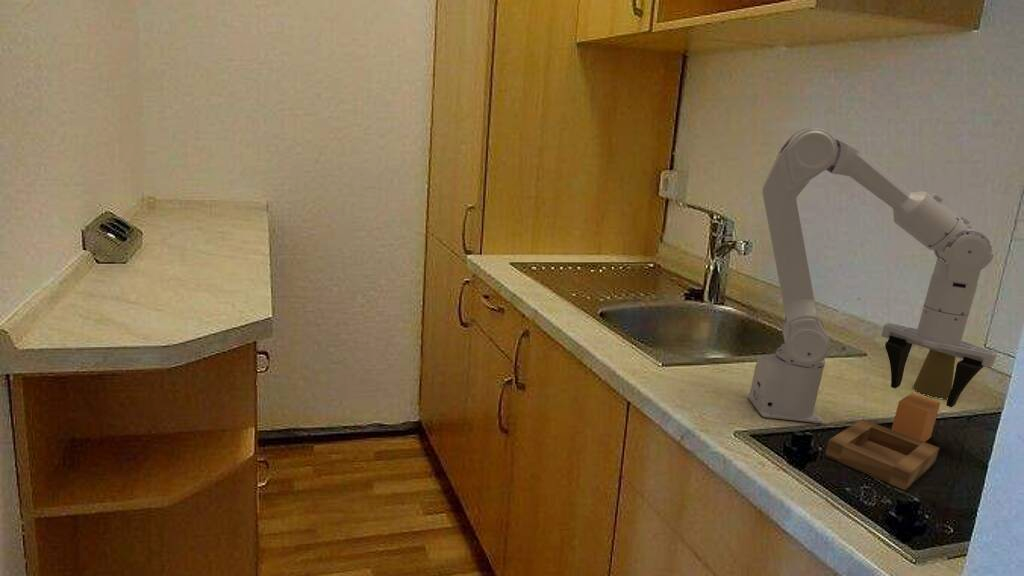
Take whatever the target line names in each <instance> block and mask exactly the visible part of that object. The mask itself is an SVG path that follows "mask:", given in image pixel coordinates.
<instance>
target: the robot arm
mask: <svg viewBox="0 0 1024 576" xmlns="http://www.w3.org/2000/svg"><path fill="white" fill-rule="evenodd" d="M825 171H827V172H828V173H830V174H833V175H840V176H846V177H850V178H851V179H852V180H853V181H855V182H856V183H858V184H859V185H861V187H863V188H864V189H866V190H867V191H869V192H870V193H872V194H873V195H874V196H876V197H877V198H878V199H880V200H881V201H883V202H884V203H885V204H886V205H888V206H889V207H890V208H892V211H893V212H892V214H893V222H894V224H896V225H897V226H898V227H900V228H901V229H902V230H904V231H905V232H906V233H907V234H908V235H910V236H911V237H912V238H914V239H915V240H916V241H918V242H919V244H921V245H923V246H924V247H925V248H927V249H928V250H931V251H933V253H934V255H935V257H936V258H937V259H936V261H935V265H934V269H933V272H932V274H931V276H930V277H931V278H930V281H929V285H928V289H927V292H926V296H925V299H924V303H923V308H922V311H921V314H920V318H919V322H918V326H917V328H914V327H909V326H904V325H900V324H895V323H892V322H891V323H890V322H888V323H886V324H884V325H883V328H882V331H881V332H882V333H881V337H883V338H886V339H887V341H885V350H886V353H887V356H888V361H889V366H890V374H891V375H890V377H891V379H890V381H891V383H890V388H893V389H895V390H896V389H897V388H899V387H900V386H901V383H902V381H903V376H904V371H905V367H906V363H907V360H908V358H909V355H910V351H911V349H912V347H913V345H915V346H917V347H921V348H925V349H928V350H930V349H931V350H935V351H938V352H942V353H945V354H949V355H952V356H956V357H955V358H960V359H962V360H959V361H958V362H956V367H955V371H954V372H955V373H954V376H953V378H954V379H953V381H952V388H951V392H950V394H949V397H948V399H946V400H947V401H946V404H945V405H946V406H947V407H948V408H953V407H955V405H956V404H957V401H958V399H959V398H960V395H961V394H962V392H963V391H964V389H965V388H966V387H967V385H968V384H969V383H970V381H972V379H973V378H974V377H975V376H976V375H977V374H978V373H979V372H980V371H981V370H982V369H983V368H984V367H986V368H991V367H992V366H994V363H995V361H996V357H997V354H998V353H997V351H996V352H995V351H992V350H990V349H986V348H983V347H980V346H977V345H975V344H971V343H969V342H967V341H963V340H962V339H963V336H964V333H965V329H966V325H967V322H968V319H969V316H970V312H971V310H972V309H971V308H972V305H973V301H974V298H975V295H976V292H977V289H978V282H979V279H980V275H981V272H982V270H983V269H985V268H986V267H987V266H989V265H990V263H991V262H992V260H993V258H994V254H993V253H992V252H993V250H992V249H993V247H992V245H991V241H990V239H989V238H988V237H987V236H986V235H985V234H984V233H982V232H980V231H977V230H975V229H973V228H972V226H970V225H969V224H970V222H971V220H970V219H968V218H966V216H961V217H960V216H958V215H957V214H955V213H954V211H952V210H951V209H949V208H948V207H947V206H945V205H944V204H942V201H943V200H944V199H943V198H942V197H941V196H940V195H939V194H937V193H934V192H933V193H932V194H929V193H928V192H927V191H924V190H923V191H921V190H920V191H913V192H911V191H910V190H909V189H907V188H906V187H904V186H903V185H902V184H900V183H899V182H898V181H897V180H896V179H894V178H893V177H892V176H891V175H890V174H889V173H888V172H886V171H885V170H884V169H883V168H882V167H880V166H879V165H878V164H876V163H875V162H874V161H873V160H872V159H870V158H869V156H867V155H866V154H865V153H863V152H862V151H861V150H859V149H858V148H855V147H854V146H852V145H850V144H849V143H847V142H846V141H844V140H841V139H838V138H835V137H834V135H832V134H831V133H830V132H828V131H827V130H825V129H822V128H817V127H815V128H813V127H807V128H802V129H800V130H797V131H796V132H794V133H793V134H792V135H791V136H790V137H789V138H788V139H787V141H785V143H784V144H783V145H782V146H781V147H780V148H779V150H778V153H777V155H776V157H775V160H774V161H773V164H772V166H771V169H770V171H769V173H768V174H767V176H766V179H765V182H764V184H763V186H762V197H763V203H764V208H765V214H766V220H767V224H768V229H769V234H770V240H771V245H772V252H773V255H774V260H775V266H776V271H777V277H778V283H779V289H780V293H781V298H782V304H783V310H784V320H783V323H782V326H781V335H782V337H783V340H784V343H782V344H781V345H780V346H779V347H777V349H776V350H775V353H773V354H762V355H760V356H759V357H758V358H757V360H756V363H755V367H754V372H753V377H752V381H751V386H750V389H749V390H750V391H749V393H748V394H747V398H748V400H749V401H750V402H751V404H752V405H753V406H754V407H755V409H756V410H757V412H758V413H759V414H760V416H761V417H762V418H768V419H769V418H770V419H779V420H787V421H795V422H807V423H816V424H823V419H822V418H821V417H820V415H818V413H817V412H816V411H815V407H816V401H817V398H818V394H819V390H820V384H821V381H822V377H823V373H824V368H825V364H826V358H827V357H828V355H829V353H830V350H831V340H830V338H829V337H830V336H829V335H828V334H827V333H826V331H825V326H824V325H825V324H824V323H823V320H822V319H821V318H820V317H819V315H818V309H817V306H816V301H815V296H814V295H815V294H814V292H813V291H814V290H813V286H812V285H813V284H812V279H811V274H810V269H809V263H808V262H809V261H808V257H807V251H806V246H805V241H804V234H803V230H802V225H801V218H800V215H799V214H800V213H799V207H798V203H797V197H799V195H800V194H801V192H802V191H803V190H804V189H805V188H806V186H807V185H809V183H810V181H811V180H813V179H815V178H817V177H818V176H819V175H821V174H822V173H823V172H825Z"/></svg>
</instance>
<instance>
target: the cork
mask: <svg viewBox="0 0 1024 576" xmlns="http://www.w3.org/2000/svg"><path fill="white" fill-rule="evenodd" d="M956 358H957V357H956V356H952V355H949V354H945V353H942V352H938V351H935V350H931V349H928V353H927V354H926V357H925V358H924V359H925V360H923V361H924V362H923V364H922V366H921V368H920V371H919V372H918V374H917V377H916V378H915V379H916V380H915V381H914V384H913V385H912V388H913V387H914V389H915V390H917V391H918V392H920V393H922V394H925V395H929V396H932V397H937V398H943V399H942V400H948V399H947V398H948V397H949V394H950V392H951V389H952V386H953V381H954V379H953V378H954V374H955V373H954V372H955V364H956V363H955V362H956ZM914 389H913V390H914ZM915 390H914V391H915ZM918 392H917V393H918ZM920 393H919V394H920ZM922 394H921V395H922ZM925 395H924V396H925ZM932 397H931V398H932Z"/></svg>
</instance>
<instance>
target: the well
mask: <svg viewBox="0 0 1024 576" xmlns="http://www.w3.org/2000/svg"><path fill="white" fill-rule="evenodd" d="M891 429H892V428H888V427H886V426H883V425H880V424H877V423H876V422H872V421H870V420H867V419H864V418H862V419H860V420H859V421H856V422H855V423H854V424H852V425H850V426H849V427H847V428H846V429H844V430H842V431H841V432H839V433H837V434H836V435H834V436H833V437H831V438H829V439H828V442H827V446H826V449H825V454H824V457H826V458H828V459H830V460H832V461H835V462H837V463H840V464H842V465H844V466H847V467H849V468H852V469H854V470H856V471H858V472H861V473H863V474H866V475H868V476H870V477H873V478H875V479H877V480H879V481H882V482H884V483H887V484H888V485H891V486H892V487H895V488H898V489H901V490H903V491H907V490H908V489H909V488H910V487H911V486H912V485H913V484H914V483H916V481H918V480H919V479H920V478H921V477H922V476H923V475H924V474H925V473H926V472H927V471H928V470H930V469H931V467H933V466H934V465H935V464H936V460H937V457H938V455H939V451H940V447H939V446H935V445H933V444H931V443H928V442H927V441H926V442H923V441H920V440H918V439H915V438H912V437H910V436H907V435H904V434H902V433H899V432H896V431H894V430H891Z"/></svg>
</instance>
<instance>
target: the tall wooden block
mask: <svg viewBox="0 0 1024 576" xmlns="http://www.w3.org/2000/svg"><path fill="white" fill-rule="evenodd" d="M940 406H941V401H938V400H935V399H934V398H931V397H928V396H925V395H922V394H919V393H918V394H917V393H915V392H911V393H909V394H908V395H906V396H905V397H904V398H902V399H899V400H898V404H897V408H896V411H895V415H894V418H893V423H892V426H891V428H890V429H891V430H894V431H896V432H899V433H902V434H904V435H907V436H910V437H912V438H915V439H918V440H920V441H923V442H926V443H927V441H929V439H930V438H931V437H932V433H933V430H934V426H935V423H936V420H937V417H938V414H939V409H940Z"/></svg>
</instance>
